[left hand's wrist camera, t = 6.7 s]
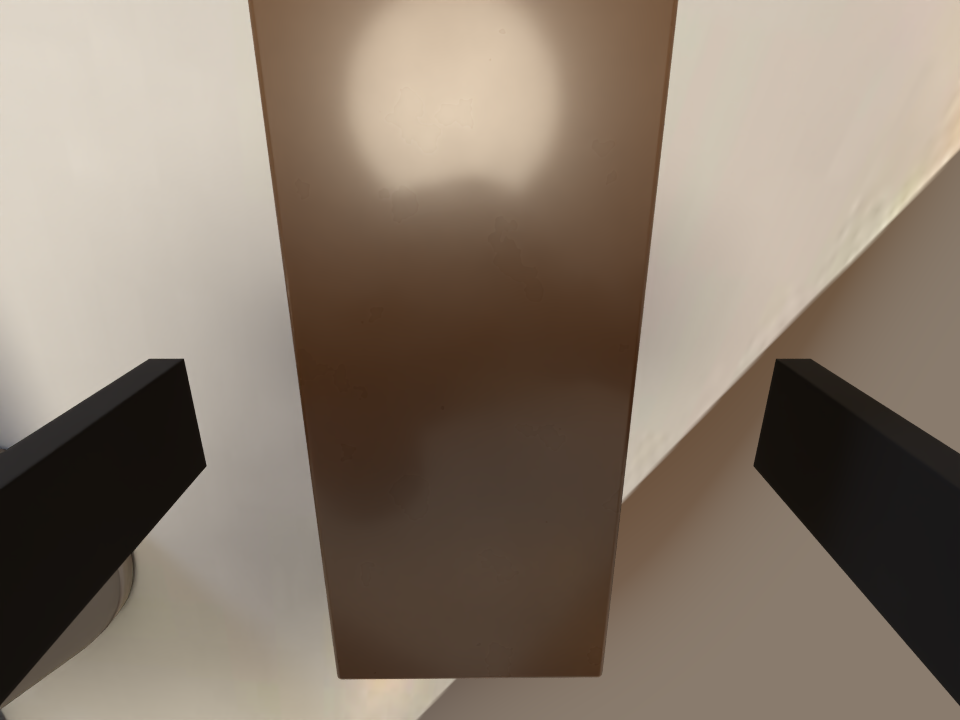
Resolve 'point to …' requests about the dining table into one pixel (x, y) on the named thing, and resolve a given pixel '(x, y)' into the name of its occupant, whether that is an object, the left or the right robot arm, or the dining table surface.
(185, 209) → the dining table surface
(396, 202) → the bar
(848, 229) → the dining table surface
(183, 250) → the dining table surface
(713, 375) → the dining table surface
